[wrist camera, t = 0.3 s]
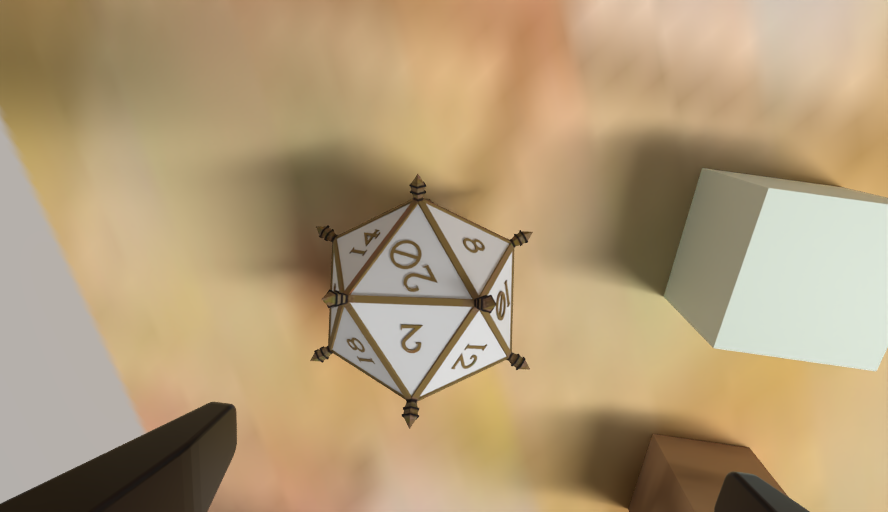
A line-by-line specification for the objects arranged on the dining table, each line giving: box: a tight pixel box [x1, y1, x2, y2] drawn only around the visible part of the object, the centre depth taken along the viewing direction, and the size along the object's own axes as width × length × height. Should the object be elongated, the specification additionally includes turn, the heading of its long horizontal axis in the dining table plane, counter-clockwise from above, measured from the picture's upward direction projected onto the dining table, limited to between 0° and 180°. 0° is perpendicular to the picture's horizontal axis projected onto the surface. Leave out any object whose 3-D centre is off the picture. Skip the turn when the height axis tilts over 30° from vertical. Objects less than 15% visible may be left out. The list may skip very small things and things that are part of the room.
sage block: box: [664, 168, 888, 371], centre depth 19 cm, size 6×6×5 cm
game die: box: [310, 174, 533, 429], centre depth 19 cm, size 9×8×10 cm
